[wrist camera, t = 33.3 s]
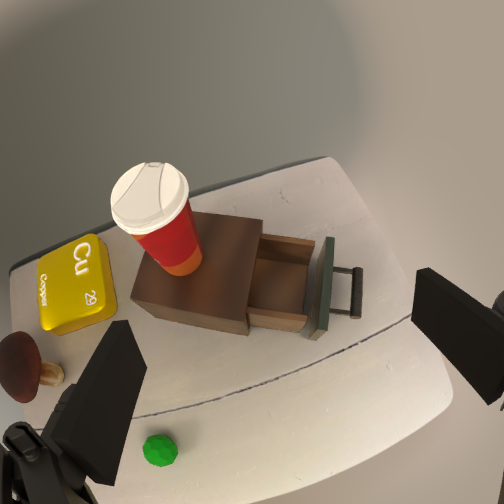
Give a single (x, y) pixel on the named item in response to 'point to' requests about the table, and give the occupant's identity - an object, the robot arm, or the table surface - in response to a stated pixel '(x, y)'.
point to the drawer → (296, 286)
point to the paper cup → (158, 215)
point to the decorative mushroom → (25, 367)
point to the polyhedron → (160, 450)
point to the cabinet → (206, 277)
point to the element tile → (75, 286)
